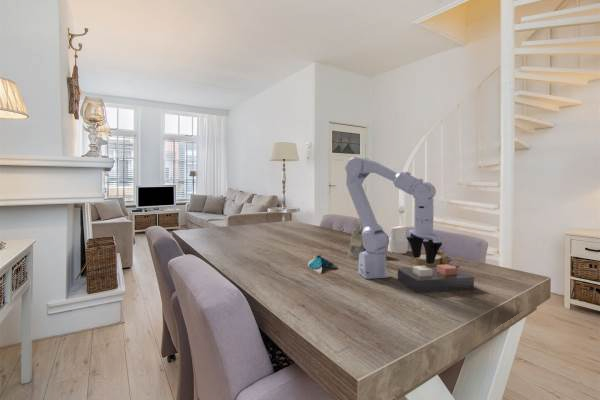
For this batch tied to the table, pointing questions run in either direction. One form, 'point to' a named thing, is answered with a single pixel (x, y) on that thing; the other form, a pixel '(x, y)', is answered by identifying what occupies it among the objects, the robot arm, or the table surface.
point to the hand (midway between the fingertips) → (423, 260)
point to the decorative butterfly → (319, 263)
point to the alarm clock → (439, 260)
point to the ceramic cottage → (356, 244)
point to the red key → (446, 269)
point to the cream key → (422, 271)
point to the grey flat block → (435, 281)
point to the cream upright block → (398, 240)
